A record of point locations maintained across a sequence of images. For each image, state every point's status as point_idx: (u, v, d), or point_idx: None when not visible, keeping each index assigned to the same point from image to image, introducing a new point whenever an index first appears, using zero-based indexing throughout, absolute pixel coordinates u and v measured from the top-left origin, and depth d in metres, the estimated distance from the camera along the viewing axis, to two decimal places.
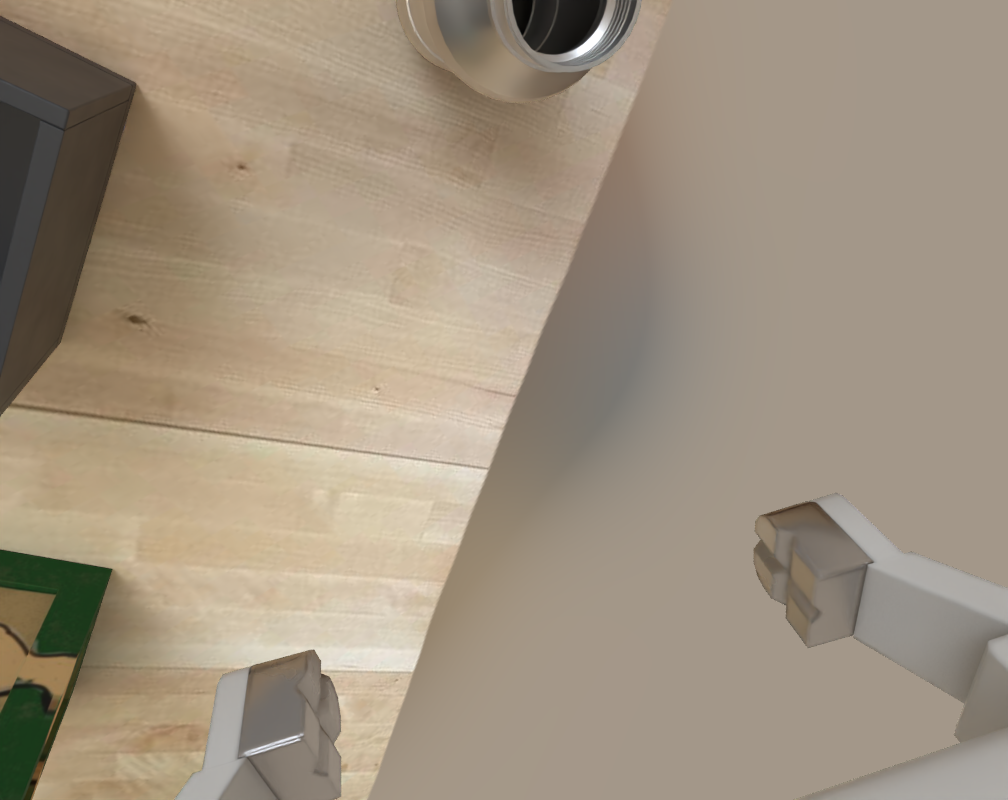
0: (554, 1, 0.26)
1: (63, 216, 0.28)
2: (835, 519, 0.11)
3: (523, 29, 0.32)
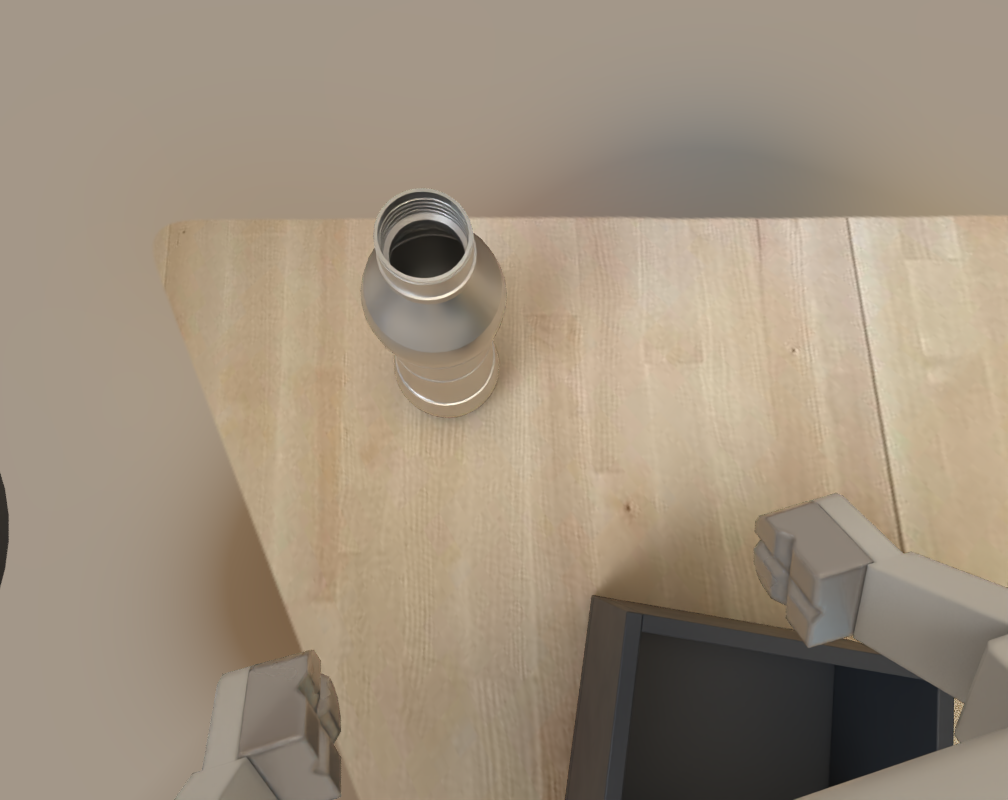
0: None
1: (715, 622, 0.33)
2: (835, 519, 0.11)
3: None
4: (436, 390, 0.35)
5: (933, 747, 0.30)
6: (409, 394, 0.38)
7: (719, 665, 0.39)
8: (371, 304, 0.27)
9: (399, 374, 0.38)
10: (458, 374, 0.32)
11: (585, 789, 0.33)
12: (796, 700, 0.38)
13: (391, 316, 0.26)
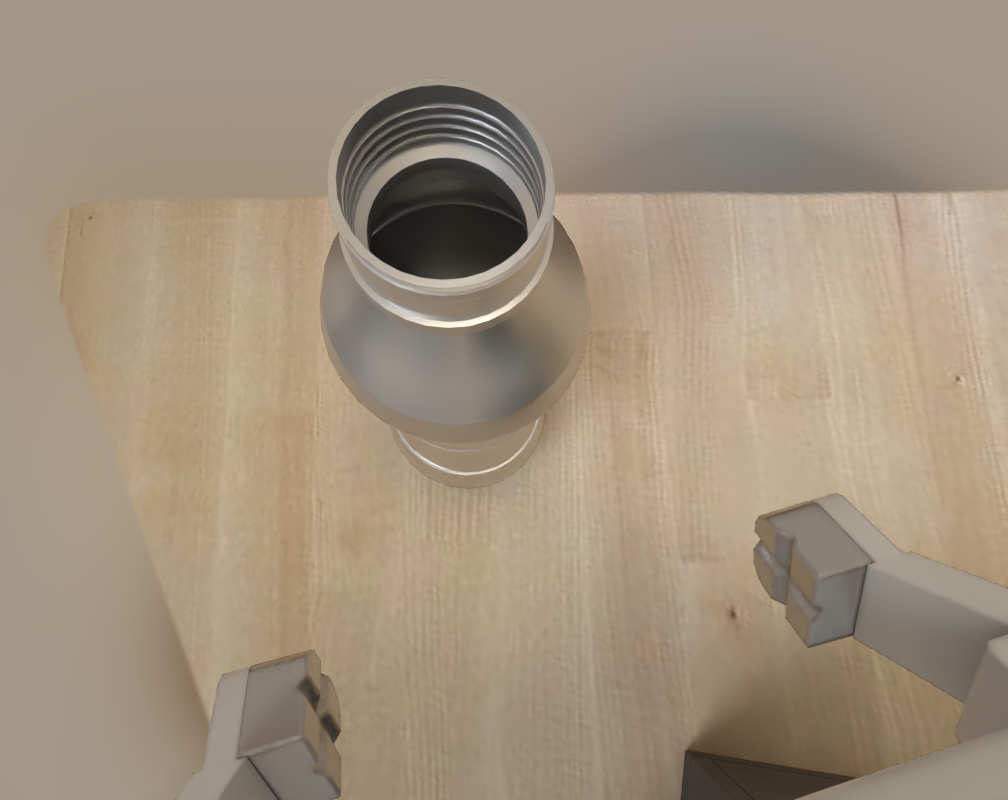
0: None
1: None
2: (835, 519, 0.11)
3: None
4: (454, 458, 0.22)
5: None
6: (411, 457, 0.25)
7: None
8: (336, 331, 0.14)
9: (396, 427, 0.25)
10: (494, 442, 0.19)
11: None
12: None
13: (375, 356, 0.13)
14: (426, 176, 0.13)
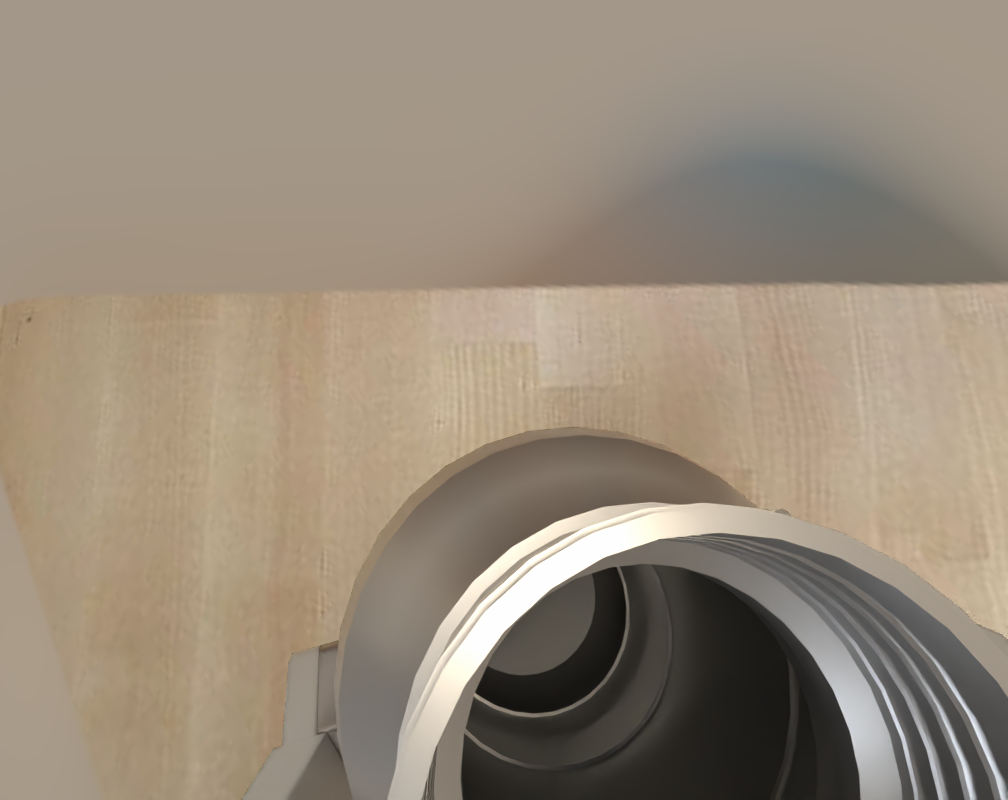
0: None
1: None
2: None
3: None
4: None
5: None
6: None
7: None
8: None
9: None
10: None
11: None
12: None
13: None
14: None
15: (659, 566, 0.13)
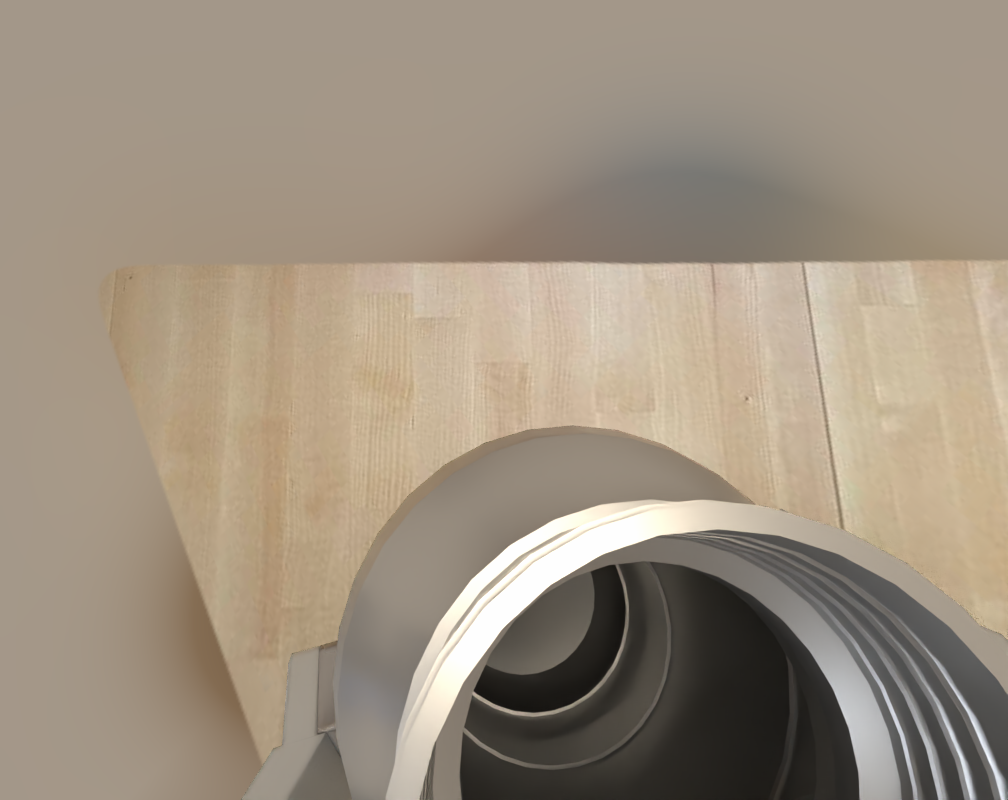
0: None
1: None
2: None
3: None
4: None
5: None
6: None
7: None
8: None
9: None
10: None
11: None
12: None
13: None
14: None
15: (658, 565, 0.13)
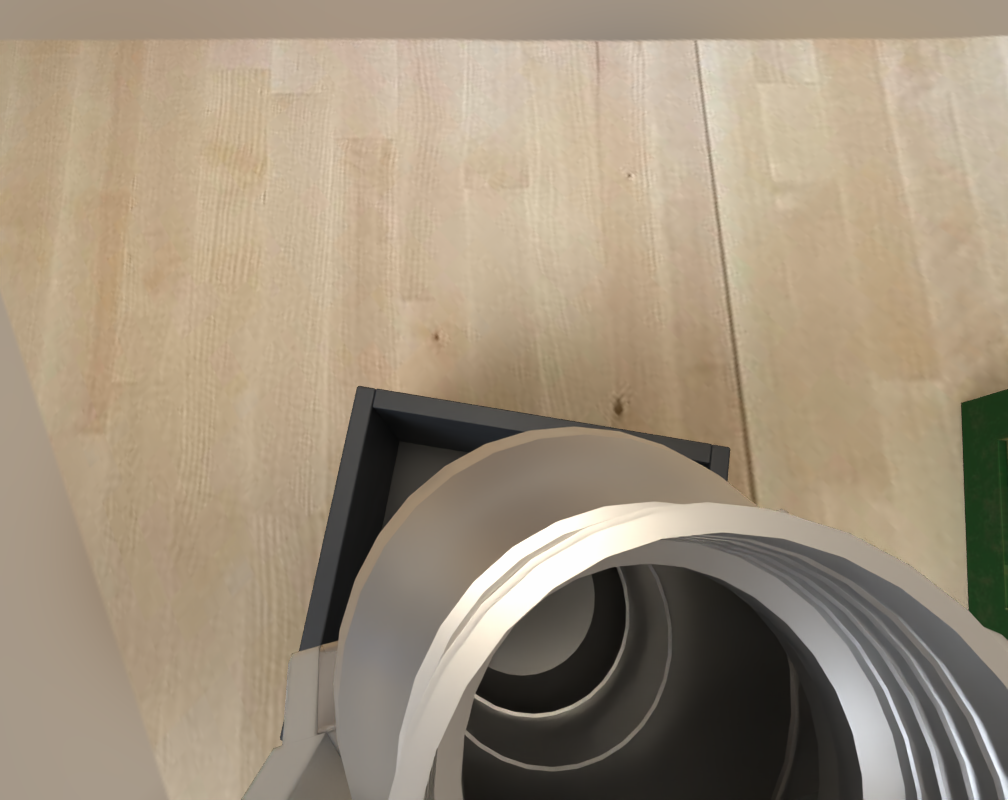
0: None
1: None
2: None
3: None
4: None
5: None
6: None
7: None
8: None
9: None
10: None
11: None
12: None
13: None
14: None
15: (659, 566, 0.13)
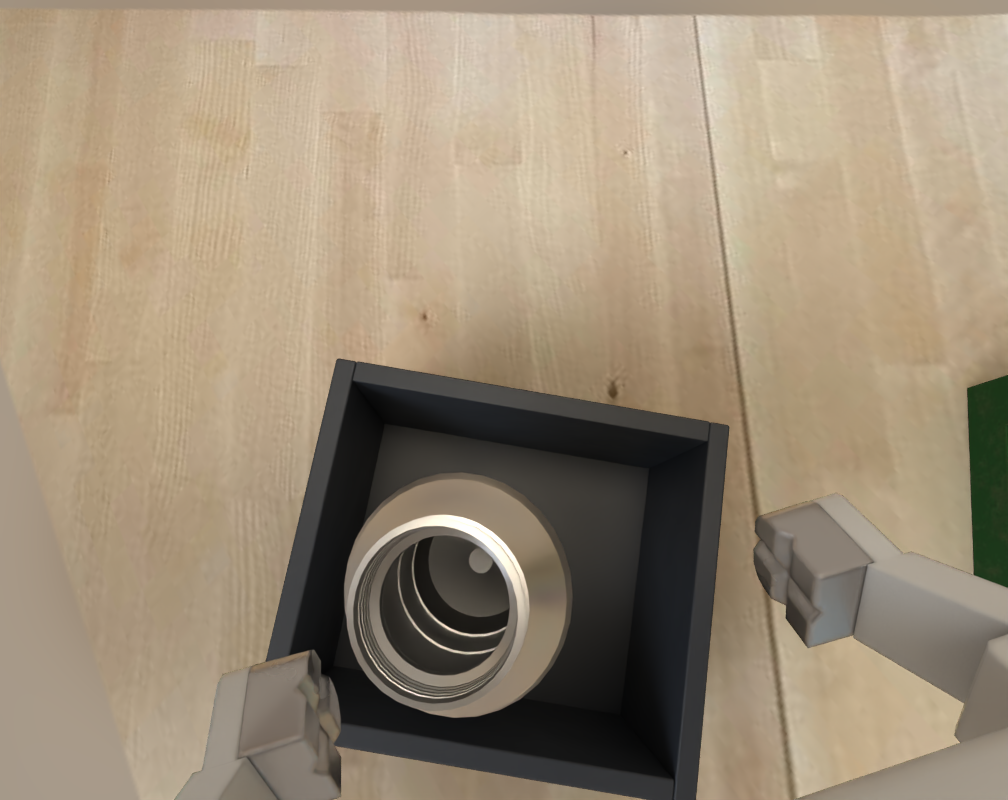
0: None
1: None
2: (835, 519, 0.11)
3: None
4: None
5: (699, 515, 0.25)
6: None
7: (513, 482, 0.34)
8: None
9: None
10: None
11: None
12: (600, 521, 0.33)
13: None
14: None
15: None
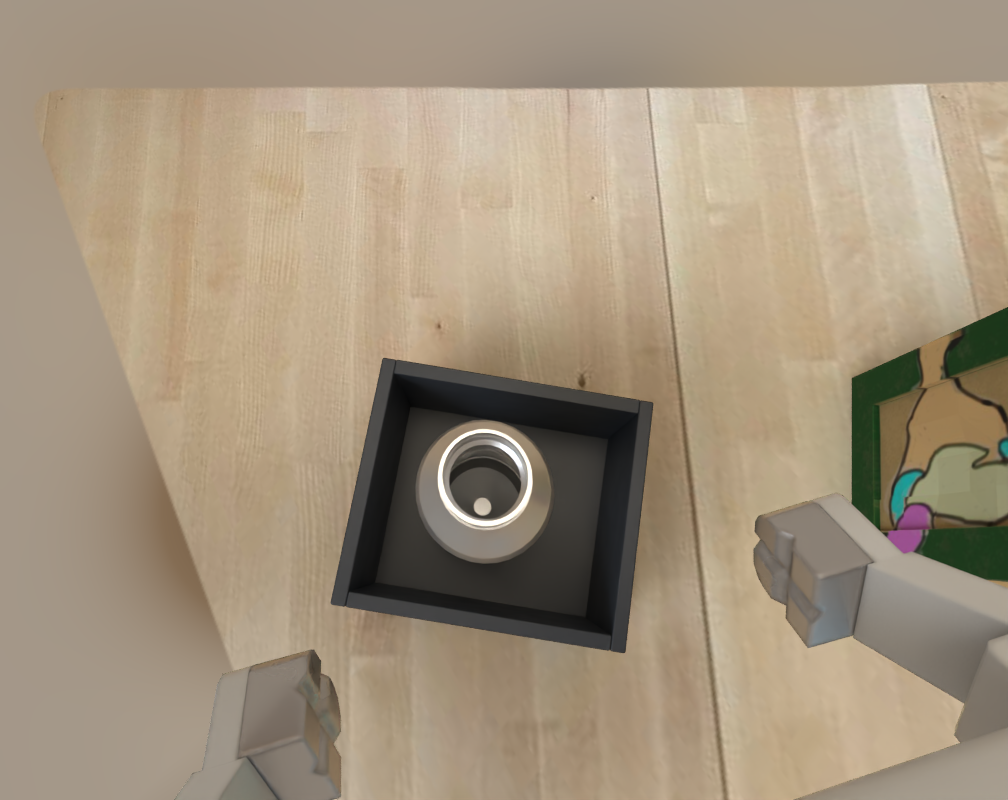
0: (471, 452, 0.35)
1: None
2: (835, 519, 0.11)
3: None
4: None
5: (631, 464, 0.36)
6: None
7: None
8: (427, 510, 0.28)
9: None
10: None
11: None
12: (571, 478, 0.45)
13: (447, 527, 0.28)
14: None
15: None
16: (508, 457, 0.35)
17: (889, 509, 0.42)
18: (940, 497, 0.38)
